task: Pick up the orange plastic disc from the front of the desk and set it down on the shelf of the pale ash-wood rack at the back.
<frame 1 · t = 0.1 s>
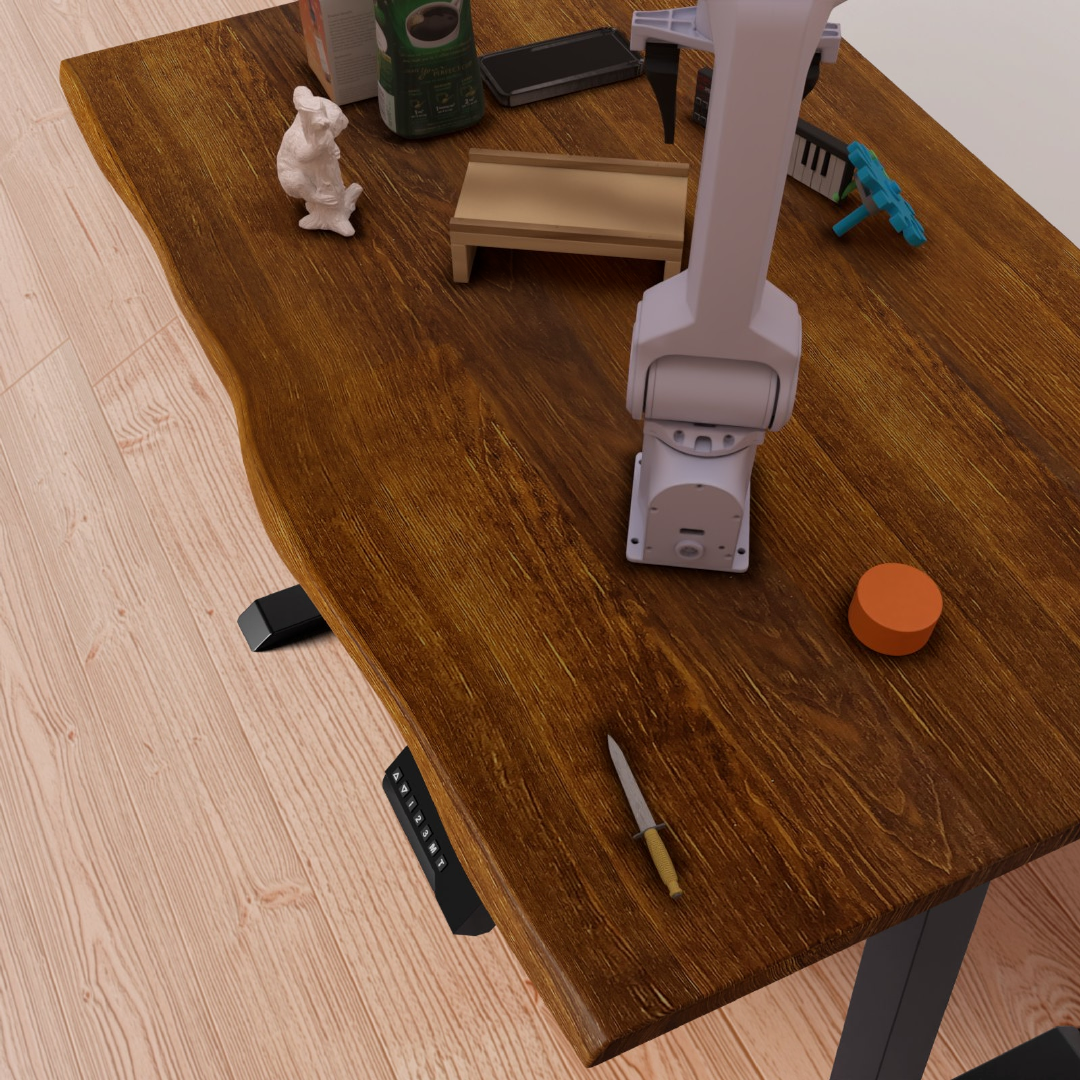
hand: (720, 140, 89), 10 cm above the table, tool pointing down, fingers open, 7 cm apart
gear: (872, 230, 98), on the table, touching midi keyboard
coffee jar: (431, 118, 108), on the table
dagger: (640, 815, 66), on the table
midi keyboard: (766, 161, 104), on the table, touching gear
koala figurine: (328, 219, 99), on the table
small box: (349, 82, 112), on the table
rack: (571, 251, 96), on the table
phone: (559, 72, 113), on the table
disc: (889, 621, 74), on the table
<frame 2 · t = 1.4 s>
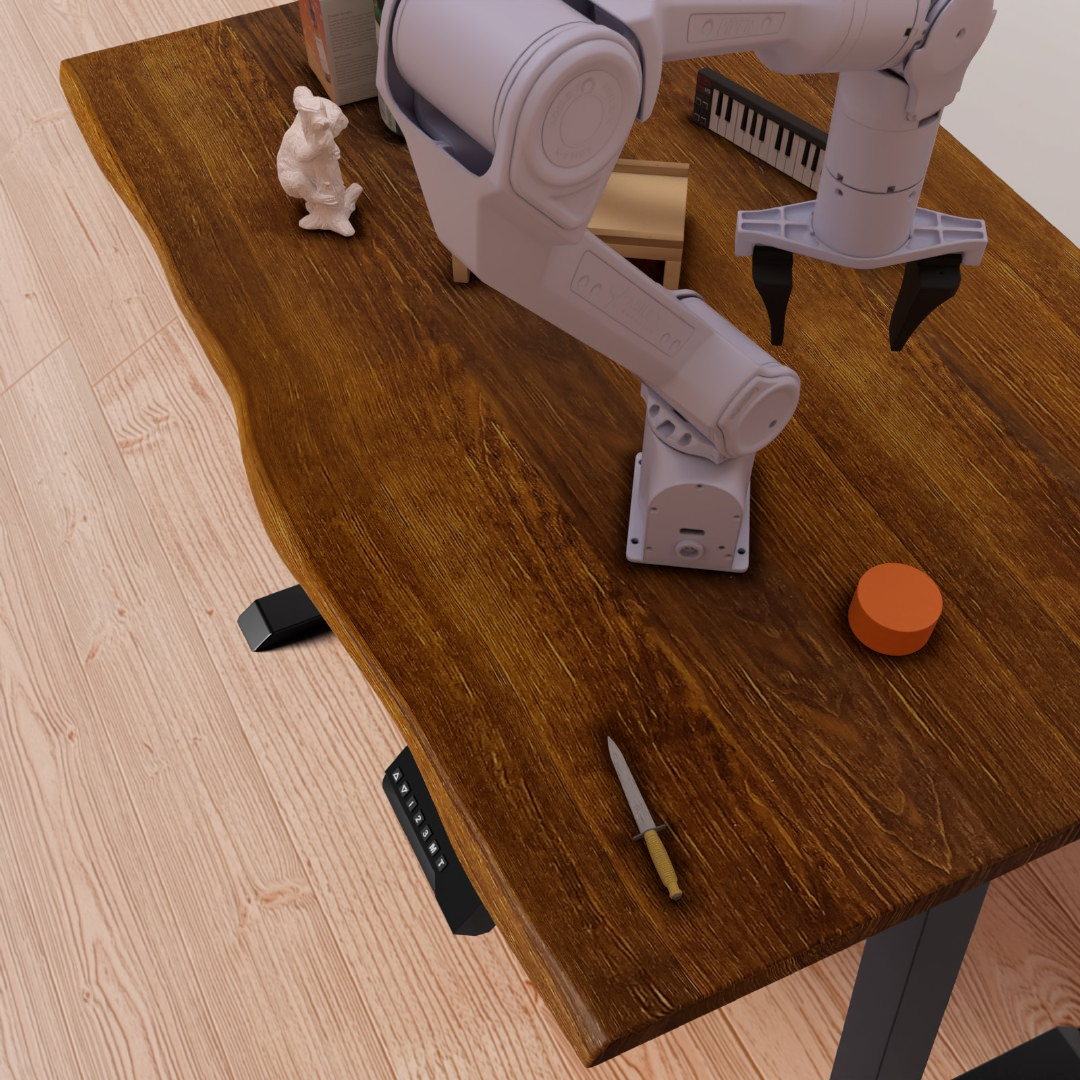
hand: (835, 338, 77), 9 cm above the table, tool pointing down, fingers open, 7 cm apart
nothing on the table moved.
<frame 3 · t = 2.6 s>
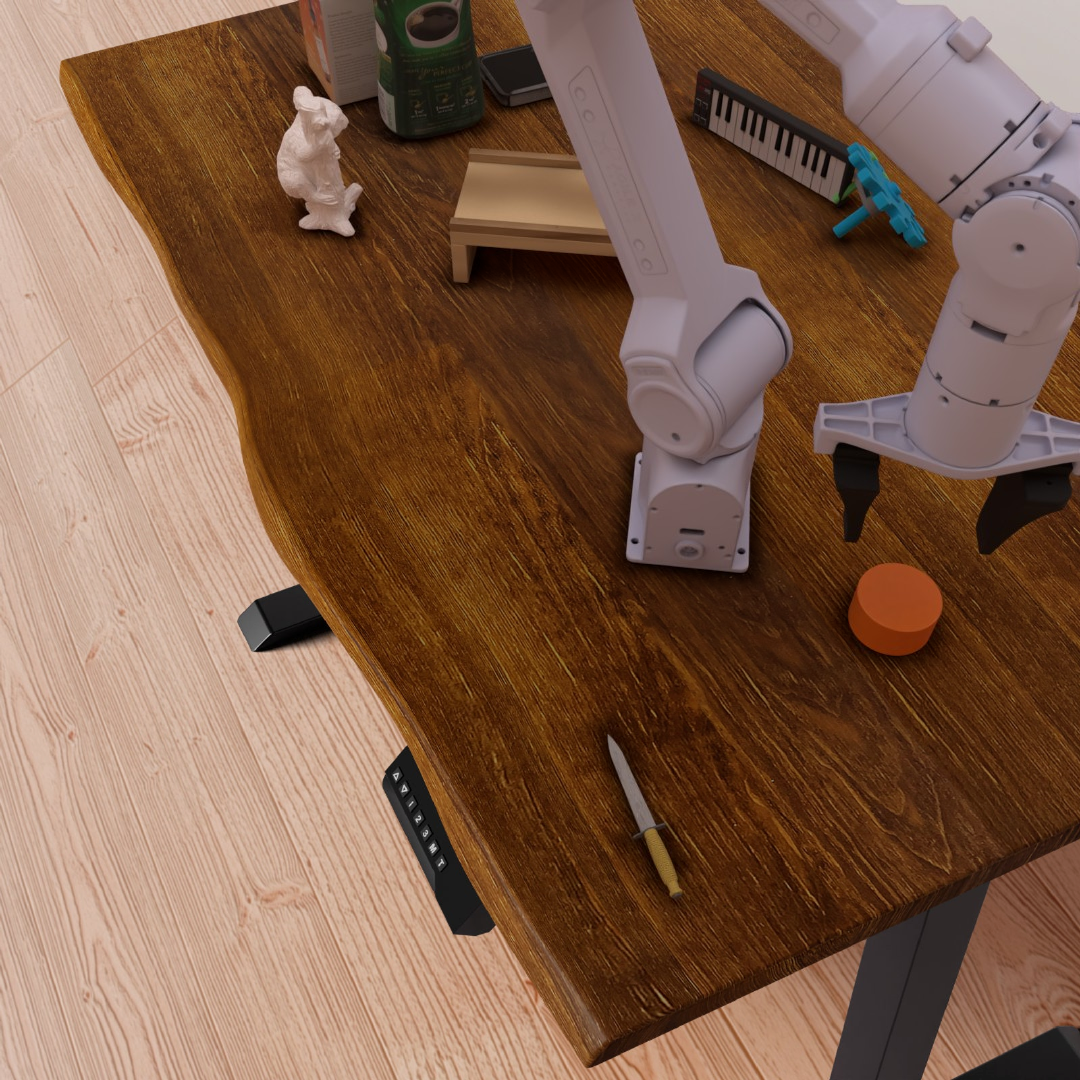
hand: (916, 535, 68), 8 cm above the table, tool pointing down, fingers open, 7 cm apart
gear: (872, 231, 98), on the table, touching midi keyboard
everything else where it was.
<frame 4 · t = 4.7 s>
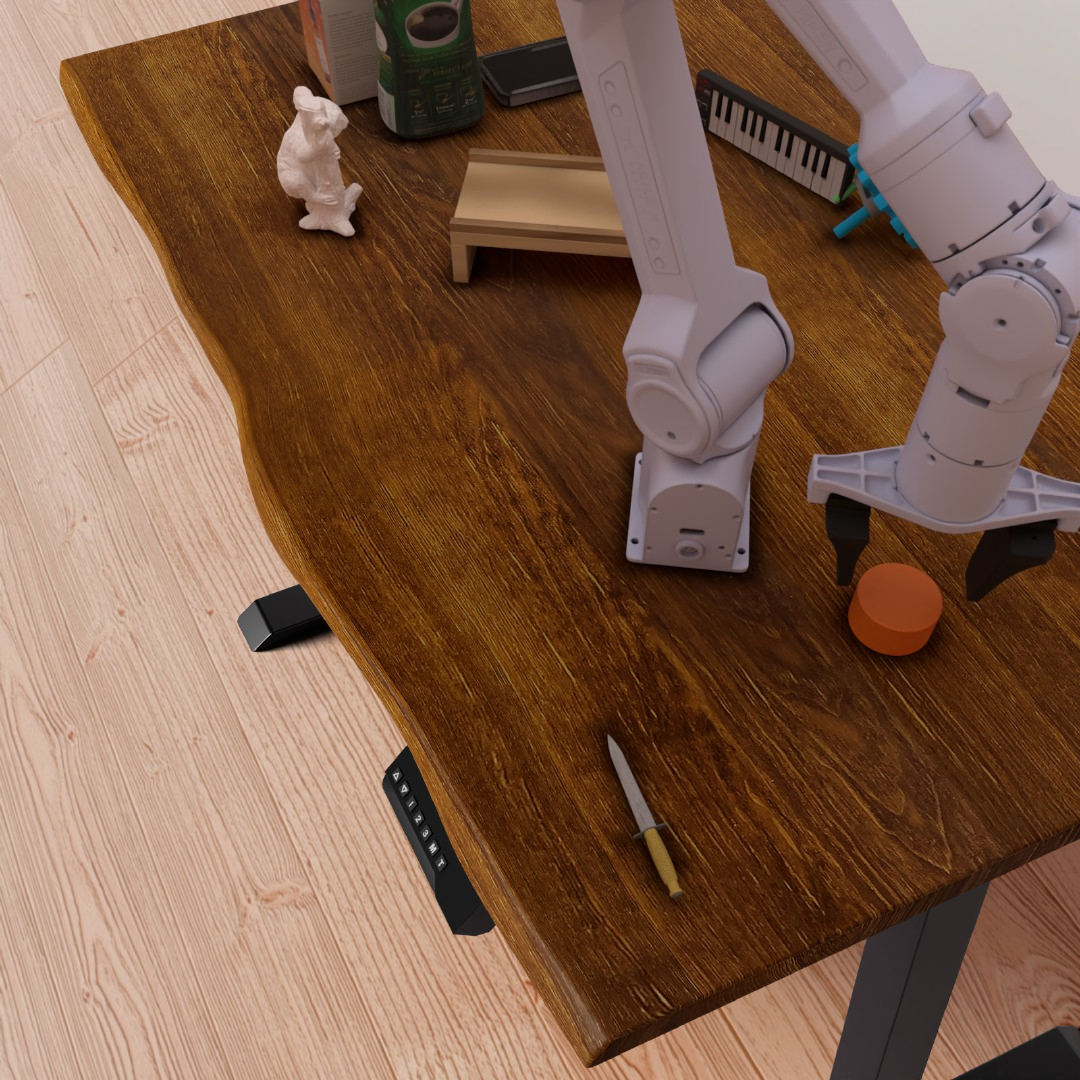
hand: (906, 580, 70), 4 cm above the table, tool pointing down, fingers open, 7 cm apart
nothing on the table moved.
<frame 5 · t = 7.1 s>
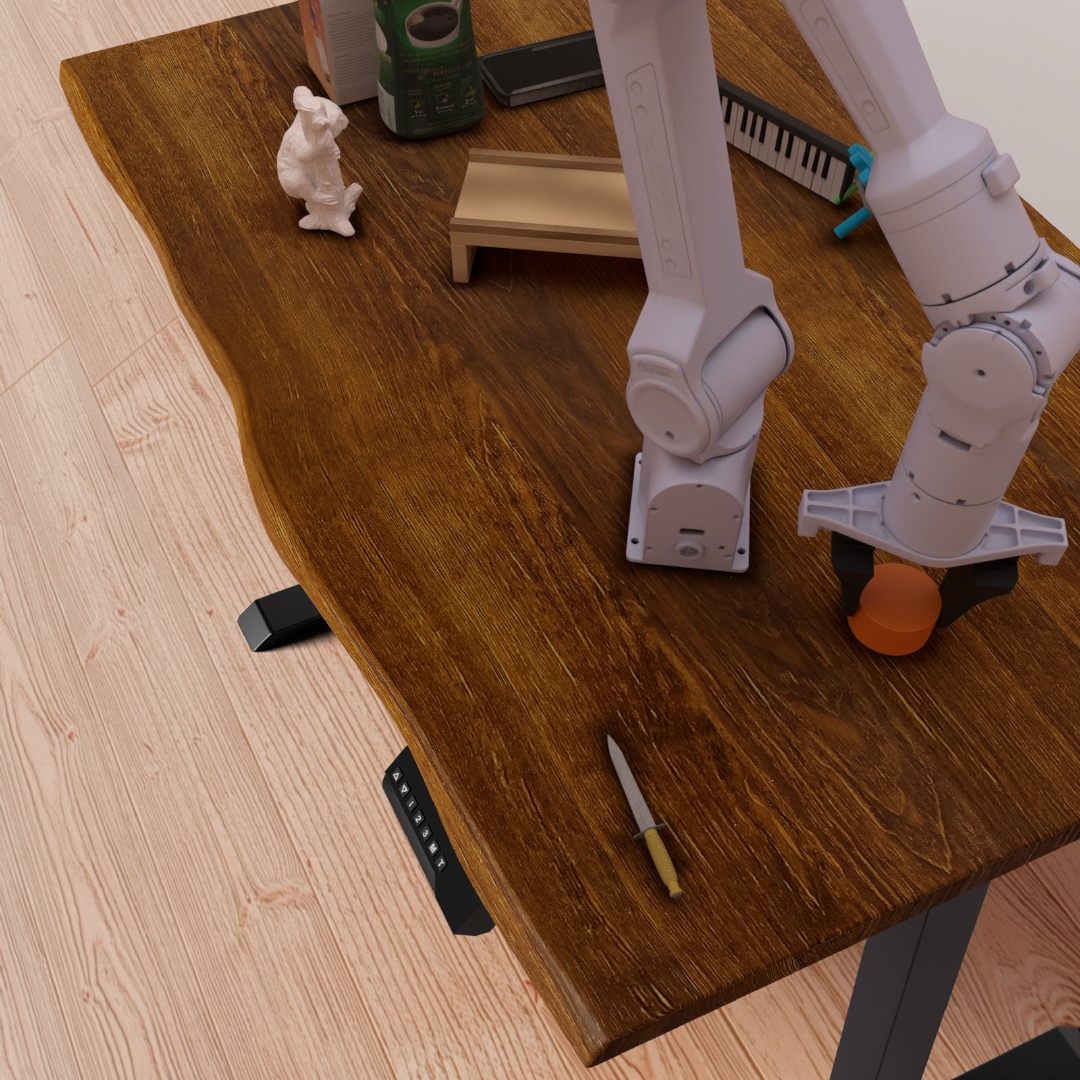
hand: (894, 608, 73), 1 cm above the table, tool pointing down, fingers closed on disc, 5 cm apart
disc: (888, 621, 74), on the table, touching gripper
everything else where it was.
when the fingers open (6 cm above the table, at t = 12.9 s): disc stays where it is, resting on rack.
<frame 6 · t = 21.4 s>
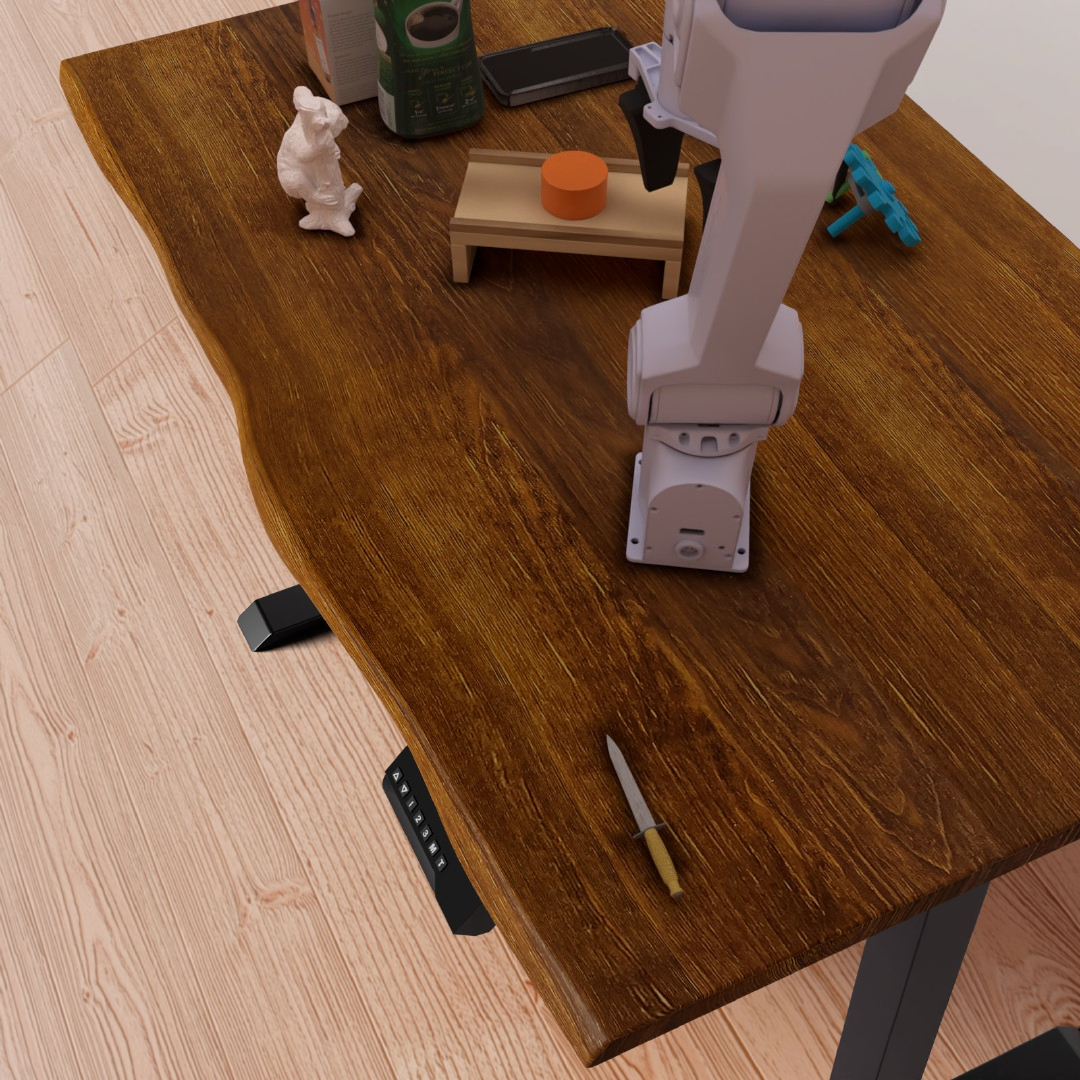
hand: (687, 214, 82), 10 cm above the table, tool pointing down, fingers open, 7 cm apart
disc: (573, 200, 92), point 5 cm above the table, touching rack
everything else where it was.
at the end: disc inside the target area on the rack (0.1 cm from its centre), point 5.0 cm above the rack's base; disc tilted 0°; the gripper is holding nothing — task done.
